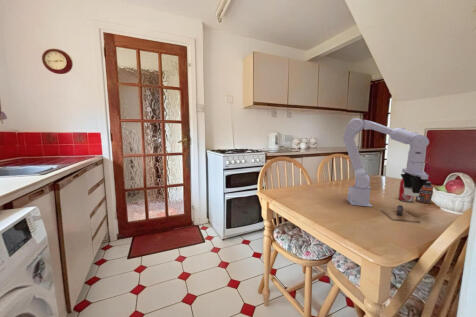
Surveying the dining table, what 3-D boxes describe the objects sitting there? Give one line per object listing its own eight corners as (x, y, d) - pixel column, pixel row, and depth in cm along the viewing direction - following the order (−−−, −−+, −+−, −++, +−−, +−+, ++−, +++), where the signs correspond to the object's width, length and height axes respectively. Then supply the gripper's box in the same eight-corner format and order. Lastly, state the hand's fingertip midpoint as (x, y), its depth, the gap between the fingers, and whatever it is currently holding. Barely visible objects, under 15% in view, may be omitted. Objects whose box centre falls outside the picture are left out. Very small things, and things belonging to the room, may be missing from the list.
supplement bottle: (418, 202, 102) (421, 182, 100) (413, 199, 107) (416, 179, 106) (433, 204, 99) (436, 183, 98) (427, 200, 105) (430, 180, 103)
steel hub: (408, 195, 86) (409, 189, 86) (401, 192, 91) (402, 186, 90) (421, 196, 85) (422, 190, 84) (414, 193, 90) (415, 187, 89)
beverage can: (416, 202, 102) (419, 180, 100) (402, 202, 103) (405, 180, 101) (408, 199, 108) (411, 178, 106) (395, 198, 109) (398, 177, 107)
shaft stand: (392, 220, 81) (393, 208, 81) (380, 210, 91) (382, 200, 90) (420, 222, 79) (421, 211, 78) (405, 213, 88) (407, 202, 88)
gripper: (439, 164, 78) (434, 197, 80) (415, 159, 92) (411, 187, 94) (418, 164, 79) (413, 195, 81) (398, 159, 93) (395, 186, 95)
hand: (411, 191), depth 88 cm, fingers closed on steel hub, 5 cm apart
